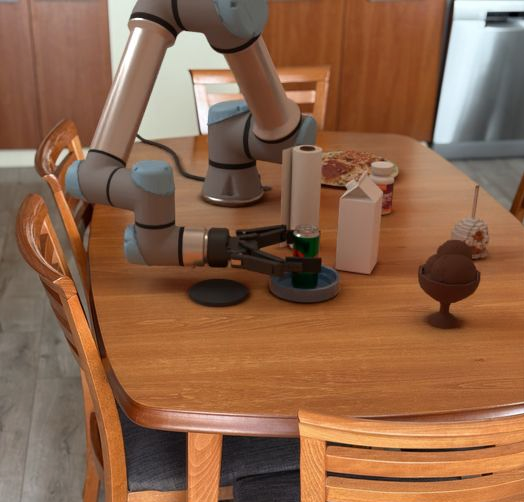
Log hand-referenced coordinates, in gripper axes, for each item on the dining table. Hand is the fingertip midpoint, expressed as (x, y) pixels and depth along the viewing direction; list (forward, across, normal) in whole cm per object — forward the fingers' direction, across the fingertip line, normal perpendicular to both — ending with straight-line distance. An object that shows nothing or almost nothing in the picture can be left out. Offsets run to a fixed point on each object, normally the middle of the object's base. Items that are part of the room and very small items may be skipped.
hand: (321, 251), depth 161 cm
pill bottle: (+15, -46, -8) cm, 49 cm away
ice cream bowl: (+22, +12, -8) cm, 26 cm away
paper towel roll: (-4, -22, -8) cm, 24 cm away
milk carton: (+8, -12, -8) cm, 17 cm away
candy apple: (+32, -21, -8) cm, 39 cm away
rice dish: (+8, -75, -8) cm, 76 cm away
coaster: (-19, +4, -8) cm, 21 cm away
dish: (-3, 0, -8) cm, 8 cm away
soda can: (-3, 0, -8) cm, 8 cm away
